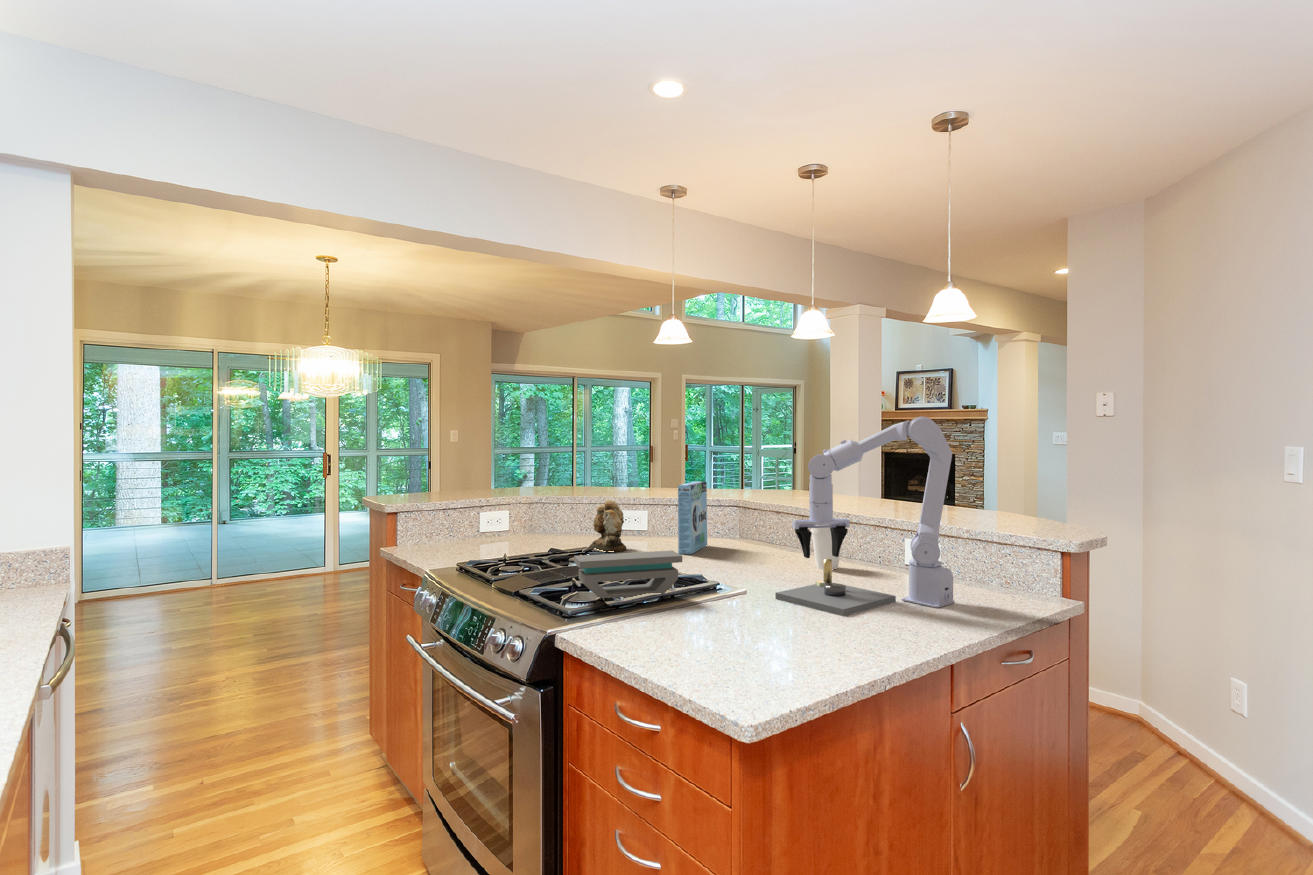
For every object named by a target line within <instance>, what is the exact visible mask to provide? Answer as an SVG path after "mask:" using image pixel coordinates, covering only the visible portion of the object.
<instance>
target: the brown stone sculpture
mask: <svg viewBox="0 0 1313 875" xmlns="http://www.w3.org/2000/svg"><path fill="white" fill-rule="evenodd" d="M624 523H625V520H624V512H623V510H622V509H620V507H619V505H618V503H617V502H616V501H614V500H613V499H607V500H605V502H604V504H600V505H598V506H597V507H596V514H595V516H594V518H593V528H594V532H597V533H598V534H600V535H601V536H600V537H599V538H597V539H595V540H593V541H592V543H591V544H590V545H589V548H590V547H593V548H596V549H599V550H603V551H606V552H607V551H614V552H619V553H625V552H627V546H626V545H625V544H624V543H623V542H622V538H621V536H622V531H623V525H624ZM624 551H625V552H624Z"/></svg>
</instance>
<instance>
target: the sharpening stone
mask: <svg viewBox="0 0 1313 875" xmlns="http://www.w3.org/2000/svg"><path fill="white" fill-rule="evenodd" d="M573 563H574V564H575V565H576V566H577V567H578V568H579V569H578V579H579V581H580V582H582V584H583V585H584V586H585V587H586V588H587V589H589V591H590V592H592V593H593V594H594V595H595V596H596V597H597V598H599V597H600V598H611V597H633V596H637V595H642V594H646V593H661V594H663V595H665V594H666V592H667V591H668V590H669V589H670V588H671V587H672V586H673V585H674V584H675V583H676V582H677V580H678V579H679V569H677V568H676V567H674V566H673V564H674V563H675V564H676V563H683V554H679V553H678V552H676V551H674V550H659V551H658V550H657V551H640V552H619V553H600V554H584V555H573ZM647 579H648V580H649V579H650V580H649V581H648V582H647V583H644V584H643V583H642V584H629V585H617V586H616V585H613V586H601V585H600V584H599V583H601V582H602V583H603V582H616V581H617V582H618V581H632V580H633V581H634V580H647ZM600 598H599V599H600Z"/></svg>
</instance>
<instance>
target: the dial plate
mask: <svg viewBox="0 0 1313 875" xmlns="http://www.w3.org/2000/svg"><path fill="white" fill-rule="evenodd" d="M831 583H834V582H831ZM824 585H825V582H824V581H821V580H816V581H815V584H810V585H805V586H801V587H796V588H791V589H786V590H781V591H777V592H775V593H774V594H775V600H779V601H782V602H786V603H790V604H794V605H798V606H802V607H806V608H810V609H814V610H818V611H822V612H825V613H830V614H833V615H837V616H842V617H844V616H848V615H852V614H856V613H861V612H864V611H867V610H871V609H874V608H879V607H882V606H887V605H889V604H893V603H896V602H897V601H896V600H897V598H896V597H897V596H896V595H893V594H889V593H884V592H879V591H875V590H869V589H865V588H860V587H856V586H851V585H845V584H844V585H845V586H846V595H844V596H829V595H826V594H824Z"/></svg>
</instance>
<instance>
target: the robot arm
mask: <svg viewBox="0 0 1313 875" xmlns="http://www.w3.org/2000/svg"><path fill="white" fill-rule="evenodd" d="M908 438H910V439H911V441H913V442H914V443H916V444H917V445H918V446H920V447H922V449H923V450H924V452H925V453H926V455H928V456H929V465H928V470H927V471H928V472H927V475H926V476H927V477H926V482H925V488H924V492H923V493H924V494H923V498H922V499H923V500H922V504H921V509H920V510H921V511H920V515H919V516H920V517H919V522H918V524H917V531H916V534H915V535H914V536H913V537H912V539H911V541H910V551H911V555H912V558H911V559H910V560H909V561H908V596H905V597H901V599H900V600H901V601H905V602H909V603H913V604H918V605H923V606H927V607H932V608H942V607H945V606H949V605H953V604H954V603H955V602H956V601H955V600H954V575H953V571H952V570H951V568H948V567H944V566H943V565H942V562H941V561H940V557H941V548H940V546H939V538H940V525H941V520H942V514H943V509H944V504H945V503H944V502H945V498H946V490H947V485H948V480H949V474H950V470H951V463H952V458H953V451H952V449H951V447H950V445H949V443H948V441H947V439H946V437H945V435H944V433H943V431H942V429H941V427H940V426H939V425H938V424H937V423H936V422H934V420H932V419H931V418H929V417H927V416H916V417H915V418H913V419H911V421H910V420H909V419H908V420H905V421H902V422H899V423H894V424H892V425H891V426H890V425H889V426H888V427H886V428H885V429H883V430H880V431H878V432H876V433H874V434H872V435H870V436H868V437H866V438H863V439H862V440H860V441H855V440H854V439H853V440H852V439H849V440H846V439H843V440H842V441H840V444H839V445H836V446H834V447H832V448H829V449H827V448H825V449H823V450H822V454H820V453H819V454H815V455H814V456H813V457H811V458H810V459H809V461H808V464H807V469H808V472H809V473H810V474H809V485H808V486H809V487H808V488H809V490H808V498H809V500H808V504H809V508H808V509H809V510H808V512H809V517H808V519H797V520H794V519H793V520H792V523H791V525H792V529H794V532H795V534H796V536H797V538H798V540H799V542H800V546H801V548H802V553H803V558H805V559H810V558H811V540H812V539H811V538H812V532H811V530H810V529H811V528H830V531H831V537H832V556H835V557H838V556H839V551H840V552H841V549H840V548H842V544H843V541H844V539H845V538H846V536H847V534H848V531H849V530H848V528H850V526H851V524H850V522H851V521H850V519H849V518H833V517H834V509H833V508H834V505H833V504H834V499H833V498H834V496H833V494H834V492H833V491H834V490H833V488H834V487H833V483H832V482H833V481H832V480H833V475H832V473H833V471H835V472H840V471H841V470H844V469H846V468H848V467H850V466H852V465H855V464H857V463H859V462H861V461H862V458H863V457H864V454H865V453H867V452H870V451H872V450H874V449H877V448H879V447H882V446H884V445H887V444H888V443H892V442H894V441H908ZM815 525H822V526H815Z"/></svg>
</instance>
